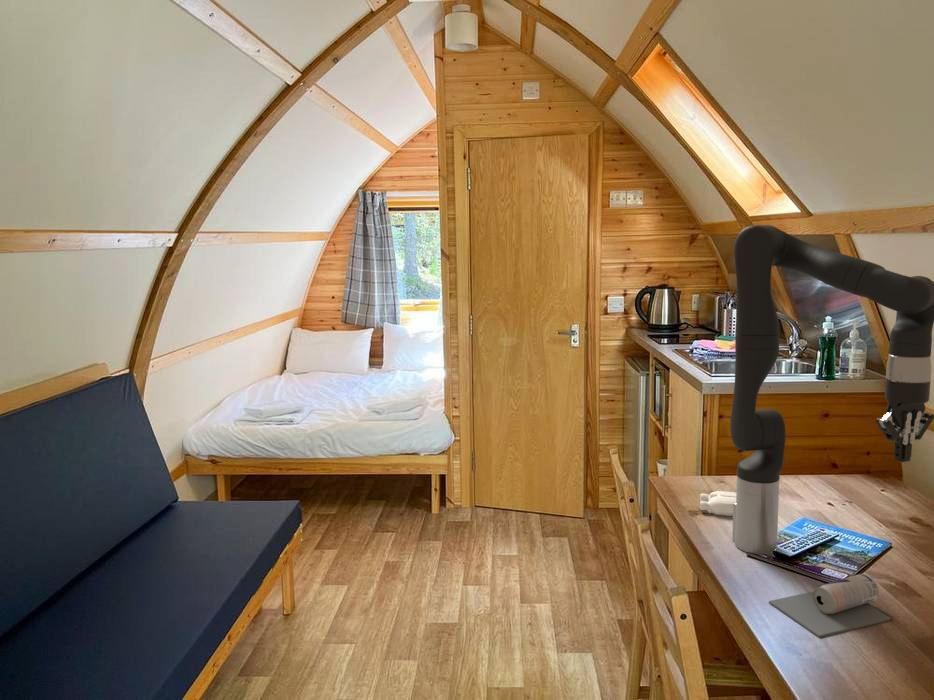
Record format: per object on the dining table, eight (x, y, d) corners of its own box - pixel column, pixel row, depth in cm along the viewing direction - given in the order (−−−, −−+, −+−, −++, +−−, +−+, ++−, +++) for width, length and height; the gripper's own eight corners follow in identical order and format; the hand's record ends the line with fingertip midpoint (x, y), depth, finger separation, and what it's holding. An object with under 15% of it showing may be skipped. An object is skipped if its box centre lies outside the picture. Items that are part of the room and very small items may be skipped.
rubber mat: (768, 603, 138) (768, 601, 138) (836, 588, 143) (836, 586, 143) (818, 637, 126) (818, 635, 126) (890, 620, 131) (891, 618, 131)
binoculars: (765, 522, 177) (765, 505, 177) (699, 516, 183) (700, 499, 182) (762, 507, 187) (763, 491, 186) (700, 501, 192) (700, 486, 192)
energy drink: (851, 574, 140) (808, 586, 136) (873, 572, 136) (828, 585, 131) (861, 601, 139) (817, 615, 134) (884, 600, 134) (839, 614, 130)
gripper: (916, 371, 142) (910, 451, 145) (865, 376, 139) (861, 459, 141) (951, 377, 135) (944, 462, 138) (899, 383, 131) (893, 470, 134)
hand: (902, 460), depth 140 cm, fingers closed
